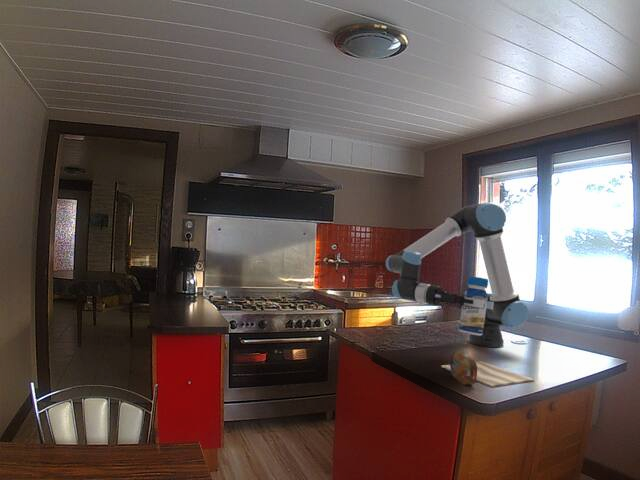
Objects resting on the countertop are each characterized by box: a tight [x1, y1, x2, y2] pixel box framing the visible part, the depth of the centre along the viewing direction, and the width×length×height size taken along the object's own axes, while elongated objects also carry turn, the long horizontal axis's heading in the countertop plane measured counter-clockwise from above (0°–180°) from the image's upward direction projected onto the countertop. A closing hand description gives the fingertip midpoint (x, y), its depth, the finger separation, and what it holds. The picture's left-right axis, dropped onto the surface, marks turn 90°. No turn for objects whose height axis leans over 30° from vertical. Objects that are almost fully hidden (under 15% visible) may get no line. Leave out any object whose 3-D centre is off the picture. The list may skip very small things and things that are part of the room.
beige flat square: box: [440, 360, 535, 388], centre depth 145 cm, size 20×22×1 cm
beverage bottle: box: [458, 275, 489, 336], centre depth 151 cm, size 8×8×20 cm
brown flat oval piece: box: [449, 351, 477, 386], centre depth 136 cm, size 15×3×8 cm, turn 5°
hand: (488, 305), depth 148 cm, fingers closed on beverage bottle, 8 cm apart
